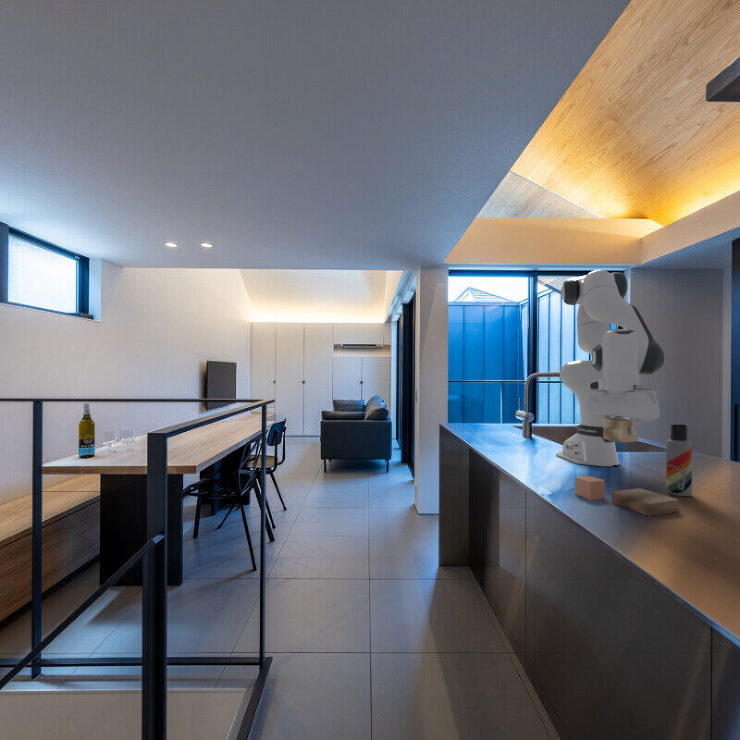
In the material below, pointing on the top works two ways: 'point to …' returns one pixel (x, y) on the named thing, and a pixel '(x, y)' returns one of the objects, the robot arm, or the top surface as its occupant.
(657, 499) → the walnut base
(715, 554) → the top surface
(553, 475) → the top surface
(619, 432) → the oak cube
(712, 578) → the top surface
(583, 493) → the terracotta block
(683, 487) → the lotion bottle
